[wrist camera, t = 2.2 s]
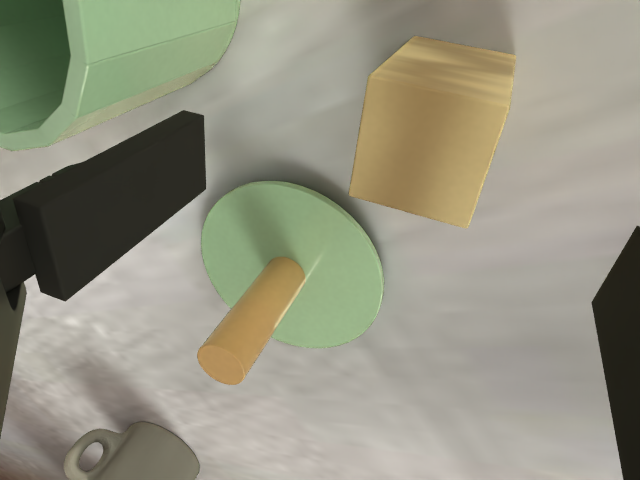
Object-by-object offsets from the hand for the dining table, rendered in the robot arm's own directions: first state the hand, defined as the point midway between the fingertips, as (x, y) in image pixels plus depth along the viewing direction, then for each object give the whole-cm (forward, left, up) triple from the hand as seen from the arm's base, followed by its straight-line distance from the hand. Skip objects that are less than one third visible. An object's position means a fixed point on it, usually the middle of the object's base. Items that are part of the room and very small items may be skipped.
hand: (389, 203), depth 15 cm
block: (0, 0, -13) cm, 13 cm away
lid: (+1, +16, -12) cm, 20 cm away
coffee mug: (+1, +52, -13) cm, 53 cm away
